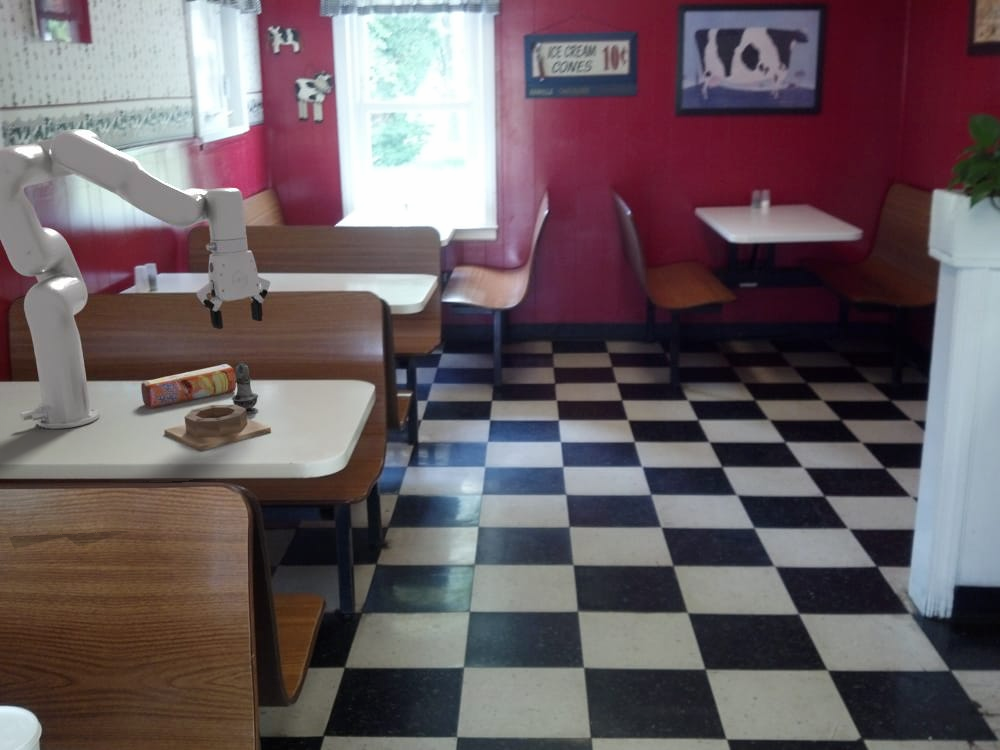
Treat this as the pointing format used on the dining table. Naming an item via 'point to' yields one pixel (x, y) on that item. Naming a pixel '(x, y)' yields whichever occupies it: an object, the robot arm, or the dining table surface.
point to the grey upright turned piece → (244, 390)
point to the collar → (216, 427)
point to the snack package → (188, 386)
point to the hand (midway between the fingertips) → (238, 324)
